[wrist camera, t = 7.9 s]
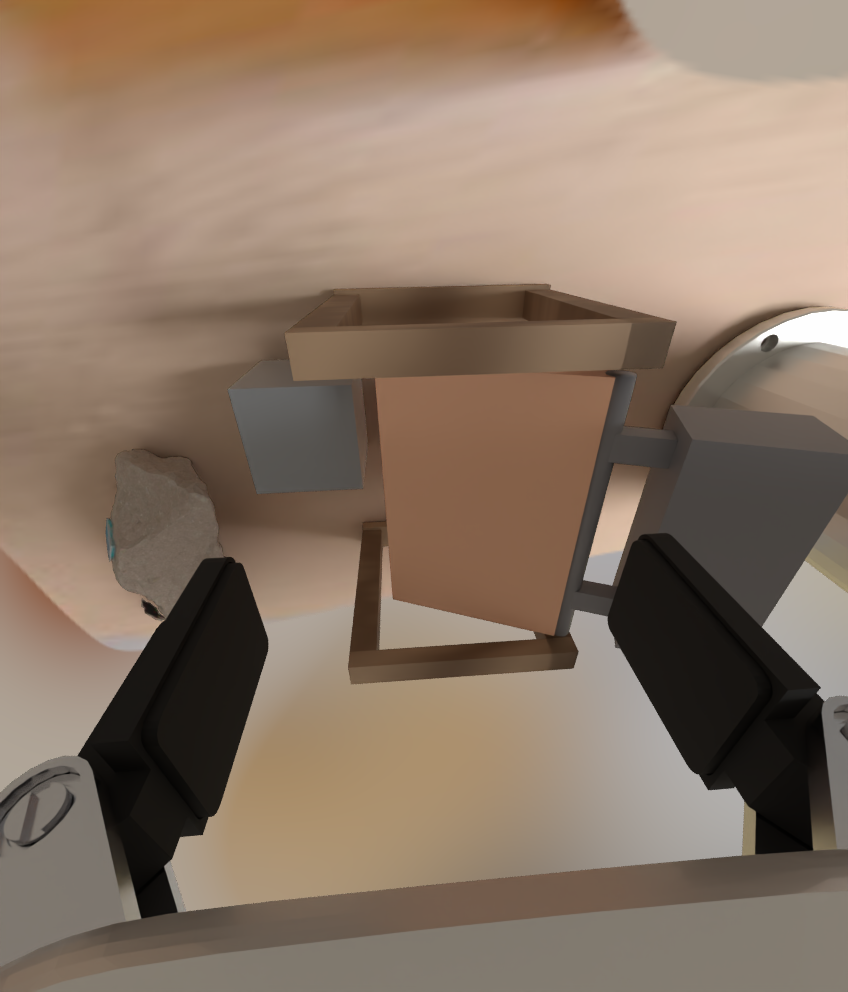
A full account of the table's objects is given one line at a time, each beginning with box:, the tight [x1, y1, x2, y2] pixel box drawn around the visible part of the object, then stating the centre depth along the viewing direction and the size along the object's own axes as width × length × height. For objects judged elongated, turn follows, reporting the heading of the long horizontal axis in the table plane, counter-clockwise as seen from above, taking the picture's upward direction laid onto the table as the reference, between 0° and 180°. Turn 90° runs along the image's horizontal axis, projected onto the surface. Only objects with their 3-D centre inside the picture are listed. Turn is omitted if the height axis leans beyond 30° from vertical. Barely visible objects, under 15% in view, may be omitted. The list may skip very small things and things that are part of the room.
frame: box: [284, 284, 676, 684], centre depth 19 cm, size 10×15×10 cm
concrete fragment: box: [106, 449, 224, 621], centre depth 23 cm, size 7×14×6 cm, turn 166°
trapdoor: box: [375, 370, 848, 649], centre depth 15 cm, size 14×12×3 cm
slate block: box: [227, 360, 368, 494], centre depth 20 cm, size 5×5×5 cm
